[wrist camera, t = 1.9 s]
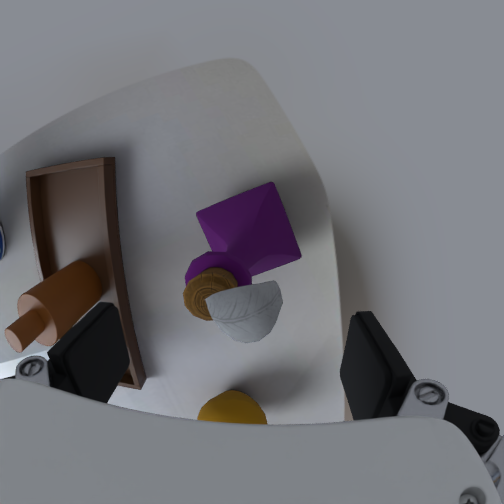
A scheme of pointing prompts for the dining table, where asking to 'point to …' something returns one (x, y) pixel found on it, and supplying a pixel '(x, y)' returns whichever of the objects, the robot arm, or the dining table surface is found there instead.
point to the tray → (83, 236)
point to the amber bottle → (54, 306)
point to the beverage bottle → (2, 243)
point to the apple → (232, 409)
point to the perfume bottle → (241, 263)
